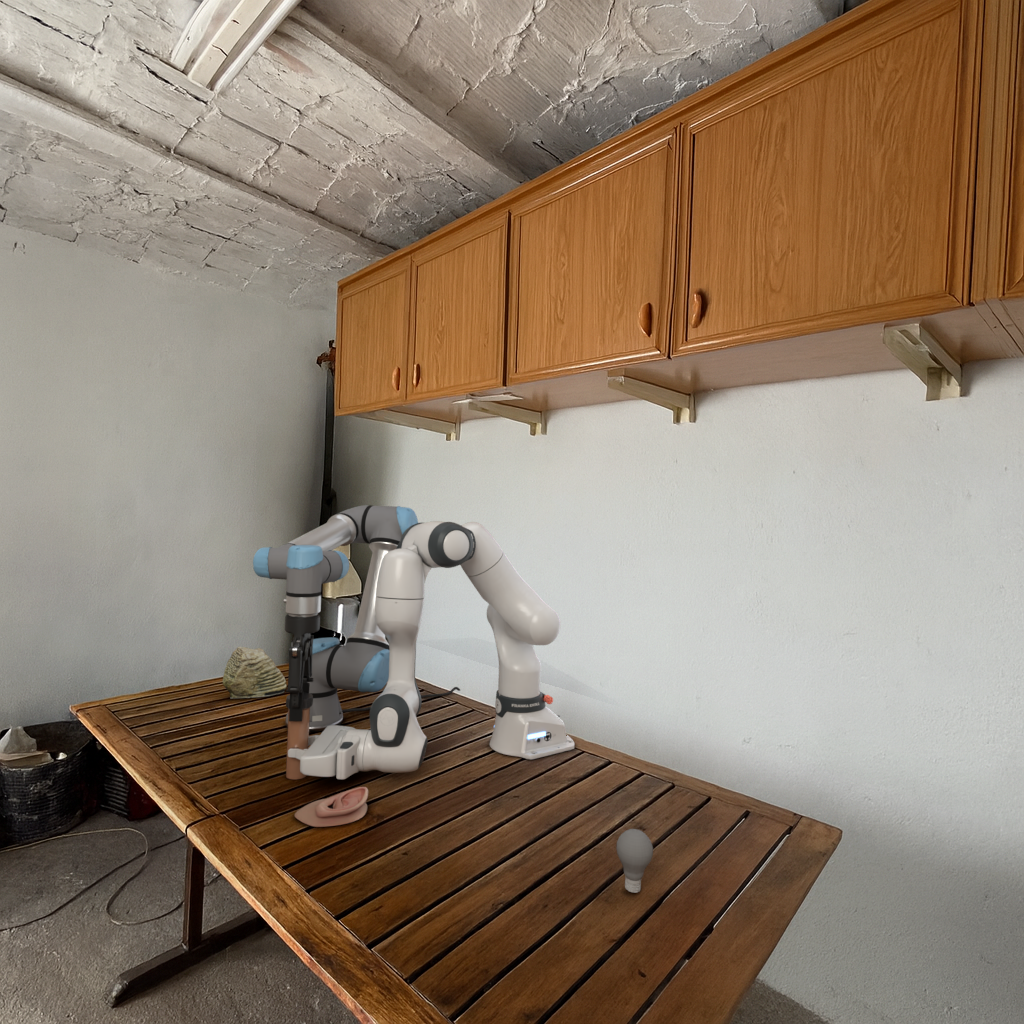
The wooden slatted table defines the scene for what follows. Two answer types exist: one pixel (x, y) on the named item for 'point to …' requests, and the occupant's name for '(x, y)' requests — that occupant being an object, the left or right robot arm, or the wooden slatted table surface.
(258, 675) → the fossil
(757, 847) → the wooden slatted table surface
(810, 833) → the wooden slatted table surface
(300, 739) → the jar
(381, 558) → the left robot arm
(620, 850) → the light bulb
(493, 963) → the wooden slatted table surface
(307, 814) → the anatomical model
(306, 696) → the lid
